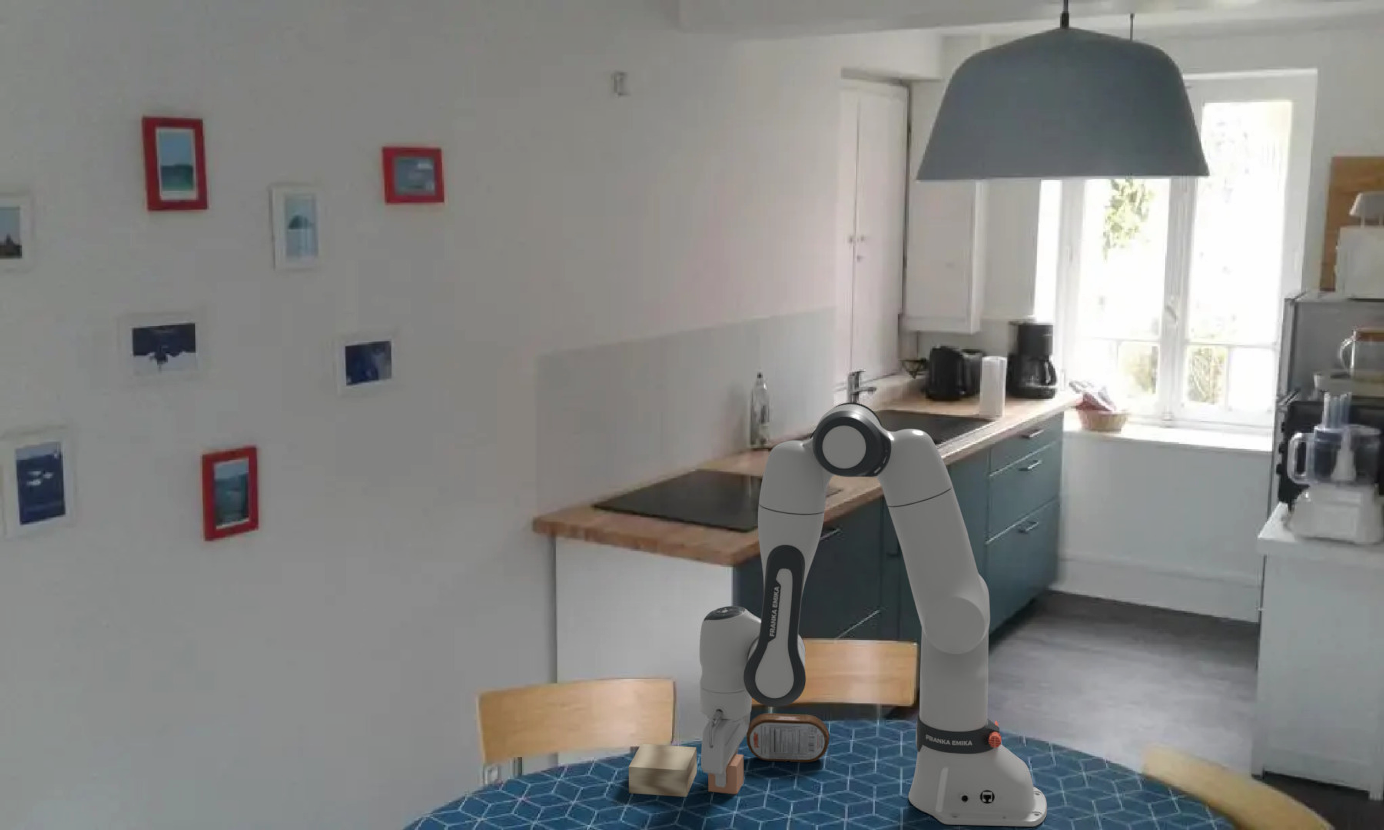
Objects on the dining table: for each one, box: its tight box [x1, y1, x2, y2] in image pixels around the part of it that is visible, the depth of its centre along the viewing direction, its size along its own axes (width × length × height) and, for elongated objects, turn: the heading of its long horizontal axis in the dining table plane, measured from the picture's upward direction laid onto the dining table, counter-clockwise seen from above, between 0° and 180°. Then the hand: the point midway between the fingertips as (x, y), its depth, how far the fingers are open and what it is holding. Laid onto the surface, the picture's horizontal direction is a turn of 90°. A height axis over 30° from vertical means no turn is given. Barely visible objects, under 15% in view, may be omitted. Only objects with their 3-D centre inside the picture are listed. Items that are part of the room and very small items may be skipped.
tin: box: [745, 712, 830, 763], centre depth 229 cm, size 15×3×8 cm, turn 84°
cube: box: [707, 754, 744, 795], centre depth 218 cm, size 5×5×5 cm
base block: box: [628, 743, 698, 798], centre depth 220 cm, size 10×10×5 cm
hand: (726, 777), depth 219 cm, fingers closed on cube, 5 cm apart
